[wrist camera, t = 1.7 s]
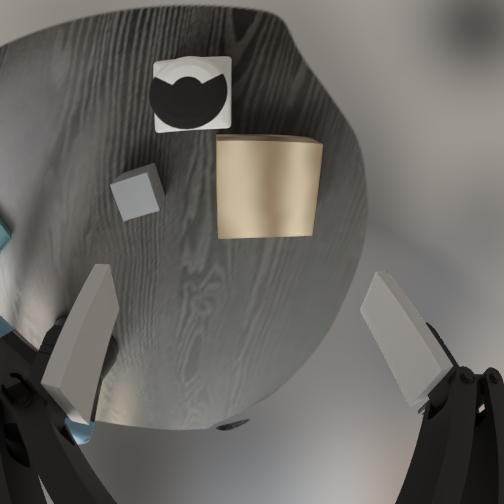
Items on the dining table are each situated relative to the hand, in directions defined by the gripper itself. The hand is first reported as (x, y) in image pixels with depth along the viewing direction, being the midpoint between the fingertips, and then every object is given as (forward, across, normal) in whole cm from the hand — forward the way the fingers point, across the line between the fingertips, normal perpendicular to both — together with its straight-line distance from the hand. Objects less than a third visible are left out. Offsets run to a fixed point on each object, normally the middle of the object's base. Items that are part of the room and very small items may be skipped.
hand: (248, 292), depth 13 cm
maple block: (+27, +5, -2) cm, 27 cm away
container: (+26, -5, +8) cm, 28 cm away
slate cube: (+26, -11, -4) cm, 29 cm away
